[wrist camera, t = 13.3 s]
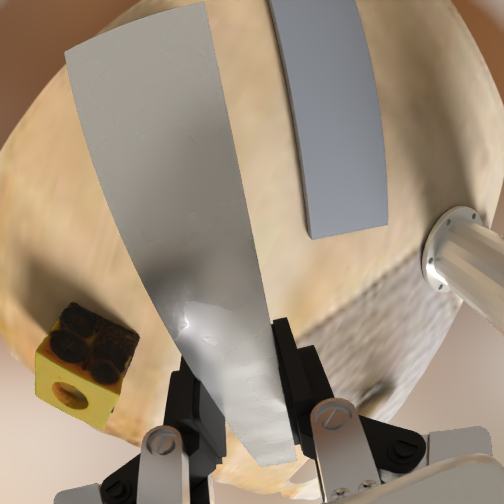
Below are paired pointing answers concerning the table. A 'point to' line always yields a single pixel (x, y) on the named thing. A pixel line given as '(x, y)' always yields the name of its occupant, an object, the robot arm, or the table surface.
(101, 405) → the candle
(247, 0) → the table surface
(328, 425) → the robot arm
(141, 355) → the table surface
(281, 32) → the board
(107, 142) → the metal bar
